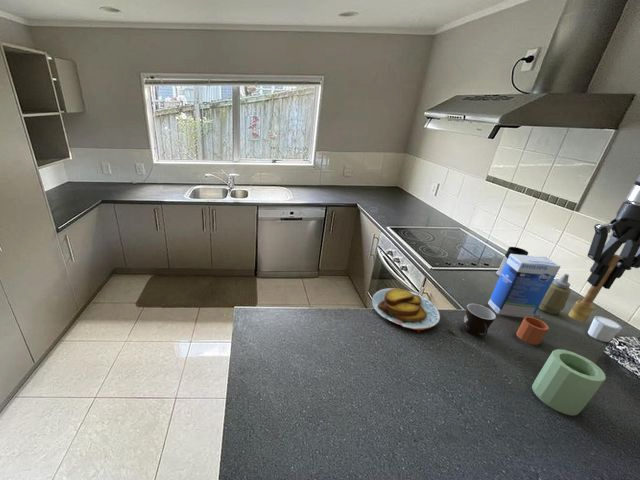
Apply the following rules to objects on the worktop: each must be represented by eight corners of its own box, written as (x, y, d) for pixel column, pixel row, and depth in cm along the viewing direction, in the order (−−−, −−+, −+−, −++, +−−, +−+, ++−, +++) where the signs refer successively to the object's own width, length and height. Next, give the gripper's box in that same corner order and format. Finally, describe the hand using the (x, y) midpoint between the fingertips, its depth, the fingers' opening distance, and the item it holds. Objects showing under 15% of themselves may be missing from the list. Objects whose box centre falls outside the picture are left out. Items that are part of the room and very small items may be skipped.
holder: (511, 272, 148) (523, 247, 142) (528, 288, 135) (542, 261, 129) (492, 269, 150) (503, 245, 144) (508, 285, 137) (520, 258, 131)
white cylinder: (586, 336, 107) (595, 322, 104) (584, 327, 111) (593, 313, 109) (613, 346, 102) (624, 331, 100) (610, 336, 107) (620, 322, 104)
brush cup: (540, 340, 104) (550, 324, 101) (537, 349, 100) (547, 332, 97) (517, 330, 108) (526, 313, 105) (513, 338, 104) (522, 321, 101)
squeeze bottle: (565, 316, 117) (587, 280, 110) (546, 316, 117) (567, 280, 110) (547, 304, 124) (566, 269, 117) (529, 303, 124) (547, 268, 117)
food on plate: (435, 344, 101) (440, 330, 98) (364, 315, 113) (367, 302, 111) (439, 306, 120) (443, 293, 117) (378, 285, 133) (381, 274, 130)
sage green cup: (581, 401, 82) (606, 367, 77) (578, 423, 76) (604, 388, 71) (535, 376, 90) (555, 343, 84) (528, 395, 84) (549, 361, 78)
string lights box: (520, 308, 121) (546, 256, 110) (533, 321, 114) (562, 266, 103) (486, 304, 122) (509, 252, 112) (496, 316, 116) (522, 262, 105)
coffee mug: (461, 320, 112) (469, 300, 108) (487, 332, 107) (497, 311, 103) (454, 335, 105) (462, 314, 101) (482, 349, 99) (492, 327, 95)
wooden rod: (586, 318, 82) (626, 256, 73) (585, 324, 79) (626, 260, 71) (569, 311, 84) (606, 250, 76) (567, 316, 82) (605, 254, 74)
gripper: (677, 204, 69) (623, 284, 78) (597, 196, 73) (555, 271, 83) (708, 214, 62) (646, 300, 71) (618, 204, 67) (571, 285, 76)
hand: (597, 284), depth 77 cm, fingers closed on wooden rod, 2 cm apart
